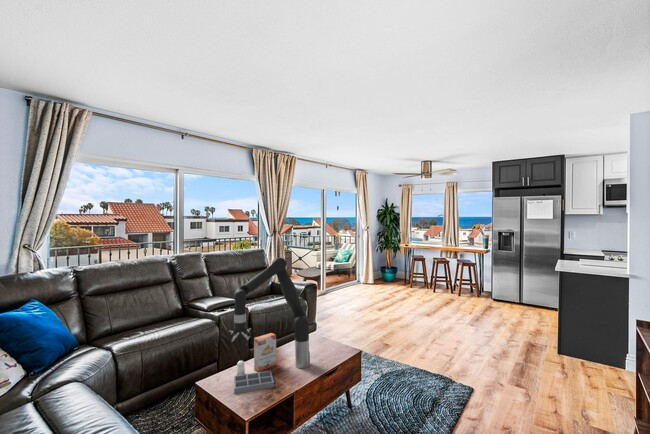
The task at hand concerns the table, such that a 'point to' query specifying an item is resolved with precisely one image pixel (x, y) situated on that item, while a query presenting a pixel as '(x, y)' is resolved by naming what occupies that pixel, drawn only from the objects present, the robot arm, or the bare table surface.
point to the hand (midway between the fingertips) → (240, 346)
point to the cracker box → (264, 352)
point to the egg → (240, 368)
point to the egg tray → (253, 381)
